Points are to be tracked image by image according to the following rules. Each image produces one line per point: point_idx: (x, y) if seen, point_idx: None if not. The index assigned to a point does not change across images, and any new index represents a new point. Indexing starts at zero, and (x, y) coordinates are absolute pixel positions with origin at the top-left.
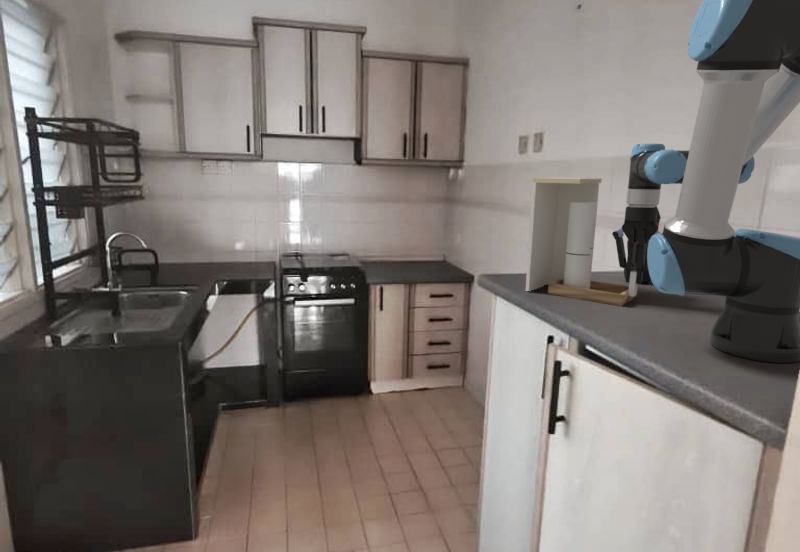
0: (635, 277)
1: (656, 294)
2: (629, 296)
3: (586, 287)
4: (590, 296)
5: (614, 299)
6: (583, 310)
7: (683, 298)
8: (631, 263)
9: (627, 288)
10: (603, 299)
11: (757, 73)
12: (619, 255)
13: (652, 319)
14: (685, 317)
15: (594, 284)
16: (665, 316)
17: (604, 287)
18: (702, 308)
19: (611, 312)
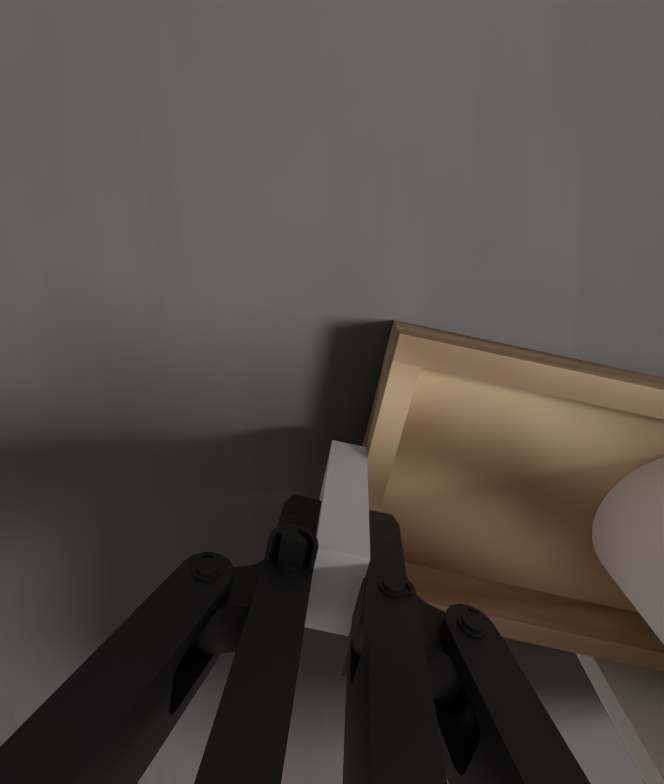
0: (323, 514)
1: None
2: None
3: (641, 504)
4: (602, 368)
5: (445, 337)
6: (648, 54)
7: None
8: (372, 637)
9: None
10: (512, 349)
11: None
12: (559, 767)
13: (195, 81)
14: (49, 255)
15: (574, 620)
16: (141, 214)
17: (509, 599)
18: (23, 492)
19: (449, 118)
